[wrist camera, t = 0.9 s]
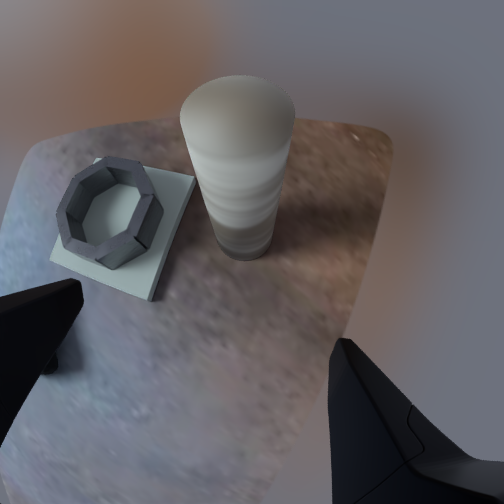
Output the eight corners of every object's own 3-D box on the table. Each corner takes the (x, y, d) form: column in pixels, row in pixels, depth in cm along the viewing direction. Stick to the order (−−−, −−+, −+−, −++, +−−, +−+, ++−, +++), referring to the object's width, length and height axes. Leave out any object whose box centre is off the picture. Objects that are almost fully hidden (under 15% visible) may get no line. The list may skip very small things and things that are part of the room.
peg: (263, 267, 23) (280, 166, 10) (209, 252, 23) (160, 142, 10) (278, 216, 24) (304, 86, 11) (226, 203, 25) (205, 70, 11)
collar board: (150, 301, 22) (146, 300, 21) (55, 262, 23) (49, 259, 22) (196, 182, 25) (194, 176, 24) (100, 163, 26) (96, 157, 25)
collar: (138, 280, 22) (122, 270, 19) (62, 250, 22) (44, 240, 19) (175, 185, 24) (167, 166, 21) (99, 169, 25) (86, 152, 22)
